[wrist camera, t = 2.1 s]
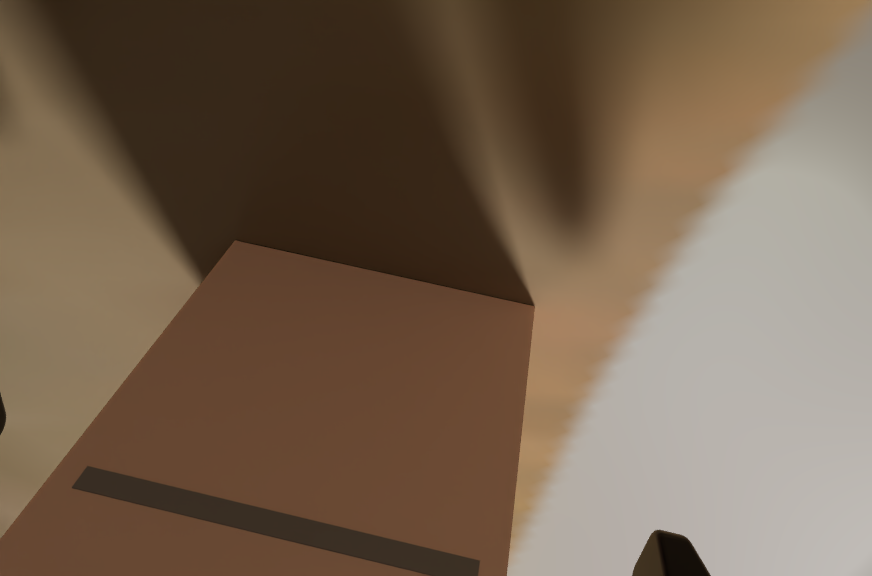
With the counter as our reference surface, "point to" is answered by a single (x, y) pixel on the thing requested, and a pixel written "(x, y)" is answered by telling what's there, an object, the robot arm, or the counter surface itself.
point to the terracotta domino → (298, 435)
